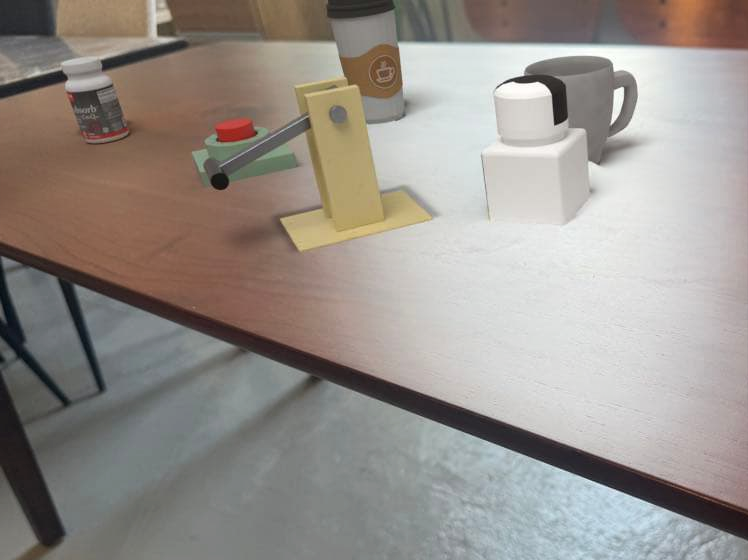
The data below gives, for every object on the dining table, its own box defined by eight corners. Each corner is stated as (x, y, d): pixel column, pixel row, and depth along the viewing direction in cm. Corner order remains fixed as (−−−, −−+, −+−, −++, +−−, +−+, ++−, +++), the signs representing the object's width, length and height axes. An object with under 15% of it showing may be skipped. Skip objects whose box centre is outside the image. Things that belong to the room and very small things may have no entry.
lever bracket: (302, 263, 73) (262, 110, 66) (282, 230, 80) (244, 89, 73) (434, 230, 77) (410, 82, 70) (404, 201, 84) (379, 64, 77)
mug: (555, 183, 85) (547, 81, 79) (518, 161, 91) (508, 66, 86) (659, 157, 88) (658, 58, 83) (616, 138, 95) (613, 45, 90)
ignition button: (221, 147, 93) (217, 131, 92) (217, 138, 96) (212, 123, 95) (259, 139, 94) (254, 123, 93) (253, 131, 97) (248, 116, 96)
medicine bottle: (520, 202, 81) (506, 69, 75) (591, 205, 79) (583, 68, 72) (489, 231, 76) (471, 91, 69) (565, 236, 73) (554, 91, 67)
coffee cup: (366, 131, 107) (340, -1, 98) (338, 119, 113) (311, -6, 104) (424, 115, 111) (404, -13, 102) (394, 105, 116) (372, -17, 108)
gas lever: (221, 198, 70) (203, 173, 69) (213, 182, 74) (196, 157, 73) (359, 118, 72) (344, 92, 70) (344, 106, 76) (330, 81, 74)
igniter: (206, 192, 92) (194, 155, 90) (196, 170, 99) (186, 135, 97) (298, 172, 95) (289, 135, 93) (283, 152, 102) (274, 118, 100)
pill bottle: (75, 144, 114) (45, 66, 109) (106, 131, 118) (78, 55, 113) (109, 144, 112) (80, 65, 107) (139, 131, 117) (112, 54, 111)
